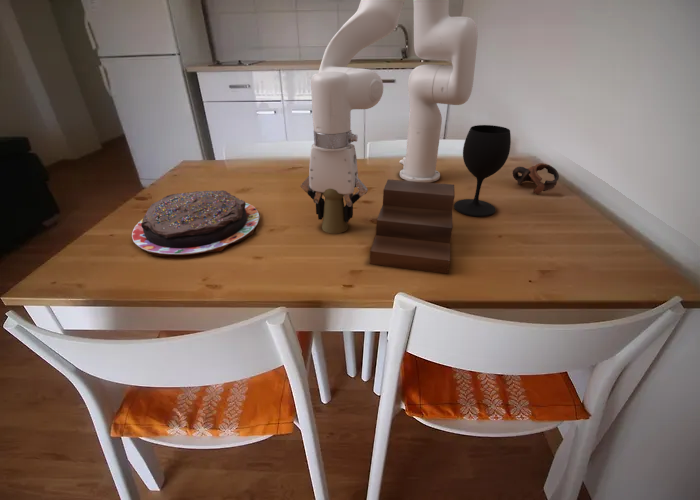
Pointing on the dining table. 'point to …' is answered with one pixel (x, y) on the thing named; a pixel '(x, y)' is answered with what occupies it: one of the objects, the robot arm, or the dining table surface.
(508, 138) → the wine glass
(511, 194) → the dining table surface
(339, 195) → the olive peg figure
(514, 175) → the brown twisted piece
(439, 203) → the spice rack
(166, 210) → the chocolate cake
